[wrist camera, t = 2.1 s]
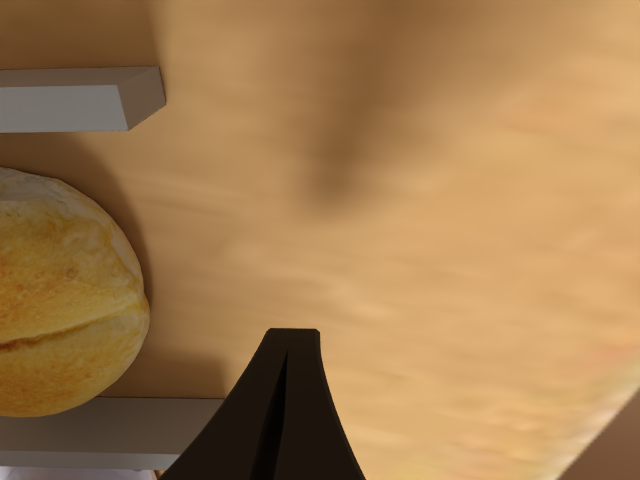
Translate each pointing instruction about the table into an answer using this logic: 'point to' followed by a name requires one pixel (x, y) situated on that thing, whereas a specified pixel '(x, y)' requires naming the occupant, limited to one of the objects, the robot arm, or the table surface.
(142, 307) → the bread roll
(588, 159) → the table surface
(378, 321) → the table surface
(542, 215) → the table surface
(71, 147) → the table surface
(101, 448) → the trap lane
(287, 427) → the robot arm
